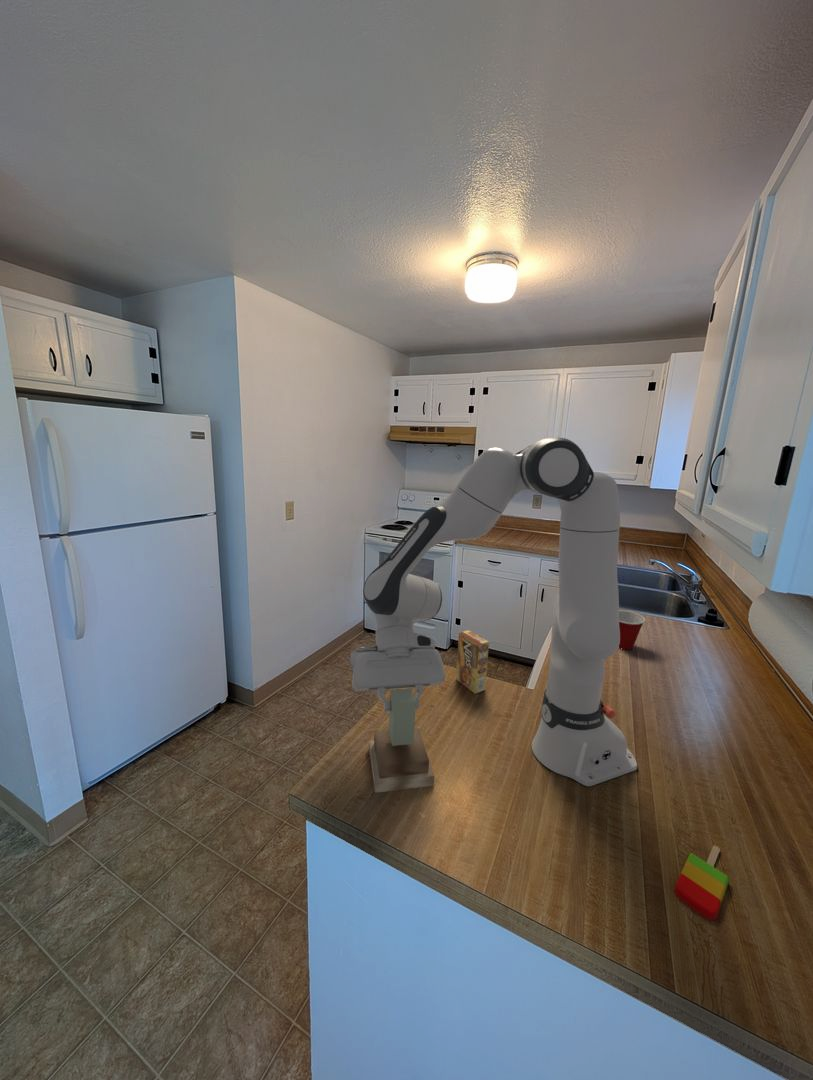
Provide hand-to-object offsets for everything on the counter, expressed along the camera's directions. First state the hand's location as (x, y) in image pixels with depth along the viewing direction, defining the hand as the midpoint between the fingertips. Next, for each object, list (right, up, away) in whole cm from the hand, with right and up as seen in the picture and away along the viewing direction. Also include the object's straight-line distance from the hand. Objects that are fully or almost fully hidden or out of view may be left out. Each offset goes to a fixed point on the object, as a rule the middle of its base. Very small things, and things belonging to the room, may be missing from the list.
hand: (401, 709), depth 85 cm
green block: (0, -6, +1) cm, 6 cm away
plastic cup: (+80, -4, +63) cm, 102 cm away
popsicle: (+50, -21, -18) cm, 57 cm away
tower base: (-1, -14, +2) cm, 14 cm away
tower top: (0, -11, +2) cm, 11 cm away
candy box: (+20, -7, +34) cm, 40 cm away
